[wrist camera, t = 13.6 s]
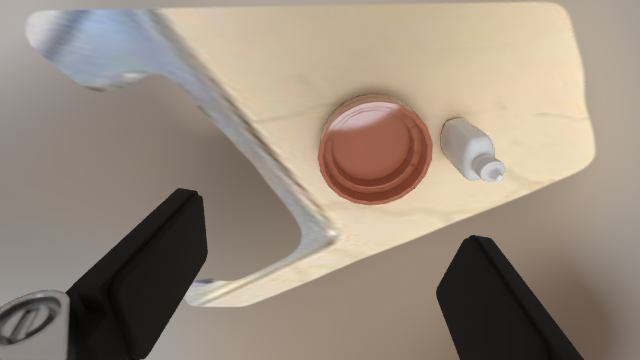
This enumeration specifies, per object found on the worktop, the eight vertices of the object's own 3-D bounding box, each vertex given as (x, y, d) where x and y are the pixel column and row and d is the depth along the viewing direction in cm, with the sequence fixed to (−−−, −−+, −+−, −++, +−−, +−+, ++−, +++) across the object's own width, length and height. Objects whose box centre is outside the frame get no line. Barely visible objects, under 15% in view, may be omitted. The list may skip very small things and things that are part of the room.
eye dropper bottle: (479, 123, 35) (539, 160, 24) (455, 159, 37) (501, 206, 27) (449, 113, 34) (498, 146, 24) (428, 150, 37) (464, 194, 26)
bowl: (329, 85, 34) (328, 92, 29) (436, 103, 34) (450, 112, 29) (314, 179, 40) (311, 196, 36) (403, 193, 41) (411, 212, 36)
